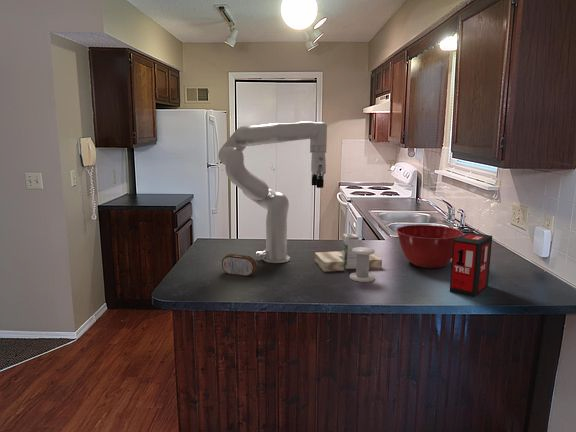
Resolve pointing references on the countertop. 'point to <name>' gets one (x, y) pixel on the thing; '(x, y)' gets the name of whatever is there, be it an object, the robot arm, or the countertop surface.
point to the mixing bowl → (428, 244)
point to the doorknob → (362, 265)
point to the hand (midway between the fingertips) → (317, 186)
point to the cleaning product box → (470, 264)
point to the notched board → (341, 261)
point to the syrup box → (349, 250)
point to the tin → (239, 265)
